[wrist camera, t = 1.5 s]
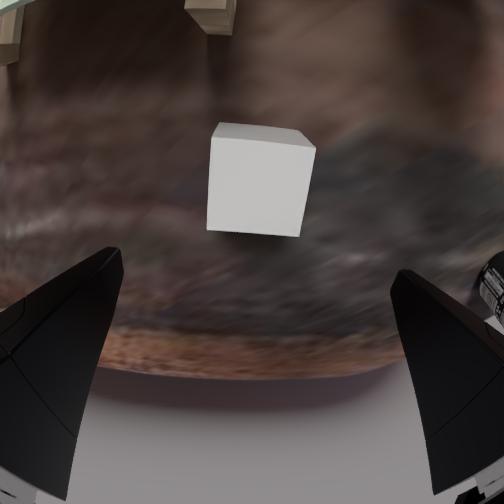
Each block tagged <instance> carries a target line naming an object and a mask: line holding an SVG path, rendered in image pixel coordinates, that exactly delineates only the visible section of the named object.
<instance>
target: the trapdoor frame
mask: <svg viewBox="0 0 504 504" xmlns="http://www.w3.org/2000/svg"><path fill="white" fill-rule="evenodd" d="M236 2H237V0H186V1H185V8H184V9H185V10H186V11H187V12H188V13H189V14H190V15H191V16H192V18H193V19H194V20H195V21H196V22H197V23H198V24H199V26H200V27H201V28H202V29H203V30H204V31H205V33H206V34H207V35H230V36H232V33H233V25H234V18H235V10H236ZM24 9H25V5H23V6H21V7H18V8H16V9H14V10H12V11H9V12H7V13H5V14H4V15H3V21H2V29H1V37H0V66H5V65H9V64H11V63H14V62H17V61H19V51H20V39H21V30H22V22H23V15H24Z"/></svg>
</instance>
